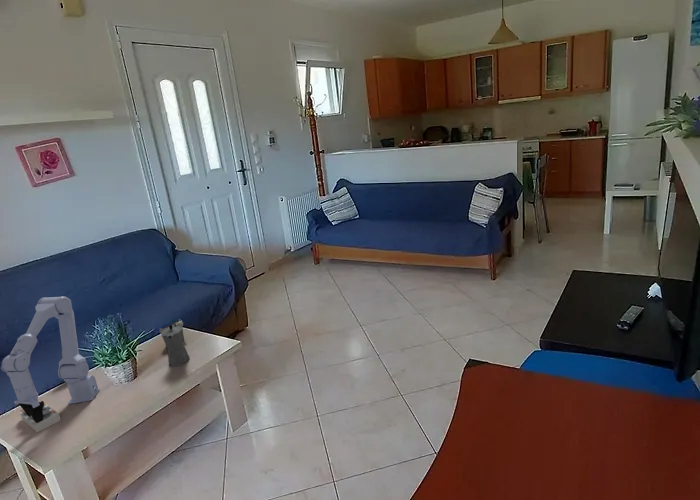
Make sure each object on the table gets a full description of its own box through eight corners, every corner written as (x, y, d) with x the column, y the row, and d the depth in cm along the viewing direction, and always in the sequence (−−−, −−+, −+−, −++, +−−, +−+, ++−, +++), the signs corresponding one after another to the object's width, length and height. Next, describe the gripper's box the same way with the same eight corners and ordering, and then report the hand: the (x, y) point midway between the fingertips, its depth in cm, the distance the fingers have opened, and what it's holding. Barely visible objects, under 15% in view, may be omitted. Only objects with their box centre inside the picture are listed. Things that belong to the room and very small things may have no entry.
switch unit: (44, 407, 181) (42, 401, 180) (60, 419, 172) (58, 412, 171) (22, 419, 175) (19, 412, 174) (37, 432, 166) (34, 425, 165)
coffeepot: (188, 365, 201) (179, 328, 196) (166, 370, 199) (156, 333, 194) (191, 349, 215) (183, 315, 210) (171, 354, 214) (162, 319, 209)
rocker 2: (47, 412, 172) (47, 408, 172) (51, 414, 170) (51, 410, 170) (29, 418, 168) (29, 414, 167) (33, 421, 165) (32, 417, 165)
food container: (171, 349, 218) (166, 330, 216) (163, 347, 222) (158, 328, 219) (192, 338, 228) (187, 320, 225) (184, 336, 231) (179, 318, 229)
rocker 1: (38, 401, 178) (36, 398, 178) (41, 404, 176) (39, 401, 175) (22, 412, 174) (19, 409, 174) (25, 415, 172) (23, 412, 171)
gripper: (3, 386, 162) (16, 418, 165) (17, 397, 153) (30, 431, 157) (26, 376, 167) (37, 407, 171) (40, 386, 158) (52, 419, 162)
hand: (35, 418), depth 164 cm, fingers open, 7 cm apart
